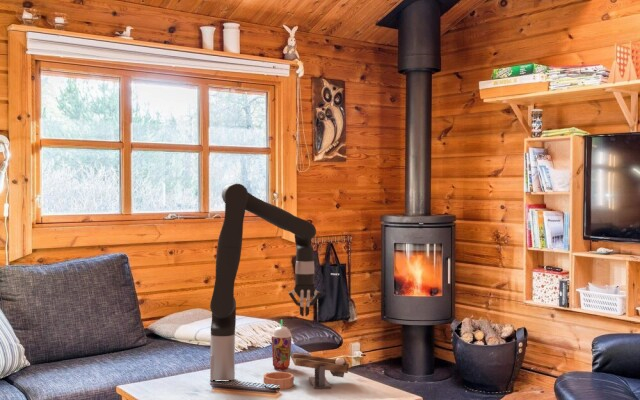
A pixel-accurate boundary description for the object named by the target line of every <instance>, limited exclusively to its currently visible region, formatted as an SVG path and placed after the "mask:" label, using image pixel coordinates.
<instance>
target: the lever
mask: <svg viewBox="0 0 640 400" xmlns="http://www.w3.org/2000/svg"><path fill="white" fill-rule="evenodd" d="M290 359H291V361H292V363H293V364H294V366H297V367H305V368H309V369H310V368H312V369H314V370H315V369H319V366H325V371H329V372H330V373H331V376H332V377H338V378H344V376H345V374H349V373H348V372H349V368H350V363H349V362H348V361H347V359H346V358H343V359H344V361H345V364H344V365H339V364H336V363H335V361H336V359H337V358H336V359H334V358H329V357H323V356H322V357H321V356H315V355H308V354H302V353H297V352H296V353H295V352H290Z"/></svg>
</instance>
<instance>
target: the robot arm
mask: <svg viewBox="0 0 640 400" xmlns="http://www.w3.org/2000/svg"><path fill="white" fill-rule="evenodd" d="M221 198H222V200H223V202H224V203H225V204H224V207H225V208H224V217H223V218H224V219H223V223H222V226H221V230H220V233H219V235H218V240H217V245H216V256H215V276H214V277H215V281H214V286H213V292H212V295H211V300H210V303H209V307H210V308H209V309H210V312H211V323H210V324H211V325H210V358H209V359H210V366H209V367H210V376H209V377H210V378H209V380H210V382H214V381H213V380H231V381H233V380H235V375H236V372H235V371H236V370H235V367H236V365H235V364H236V363H235V361H236V359H235V358H236V356H235V355H236V352H235V350H236V321H237V318H236V316H237V302H236V298H235V296H234V295H235V281H236V277H237V273H238V271H239V270H238V269H239V266H240V260H241V257H242V248H243V232H244V231H243V230H244V219H245V213H246V212H248V213H251V214H253V215H255V216H257V217H259V218H260V219H262V220H264V221H266V222H267V223H270V224H271V225H273V226H276V227H277V228H279V229H281V230H284V231H287V232H289V233H291V234H294V243H295V249H296V250H295V251H296V253H295V255H296V256H295V260H296V261H295V267H294V271H295V272H294V273H295V278H294V279H295V280H294V282H295V283H294V287H293V290H291V291H289V292H288V295H289V296H290V298H291V300H292V301H293V302H294V305H296V306H297V307H299V315H300V316H301V317H304V316H305V317H308V316H309V315H310V307H311V306H314V305H315V304H316V302H317V300H318V299H319V298H320V296H321V295H322V293H321V292H320V291H318V290H317V289H316V286H315V258H314V257H315V250H314V249H315V248H314V247H313V245H312V239H314V238H315V236H316V235H317V229H316V226H315V225H314V224H313V223H312V222H310V221H308V220H305V219H303V218H301V217H298V216H295V215H294V214H292V213H291V212H289V211H288V210H285V209H283V208H280V206H276V205H275V204H271V203H269V202H267V201H264V200H262V199H260V198H258V197H256V196H254V195H253V194H252V193H250V192H249V191H248V189H247V188H246V187H245V185H243V184H242V183H238V182H236V183H235V182H233V183H232V182H231V183H229V184H227V185H225V186H224V187H223V189H222V191H221ZM313 294H314V295H313ZM296 295H297V296H298V297H299V299H298V300H299V301H298V300H297V299H296V297H295V296H296ZM312 296H313V298H312V299H311V297H312ZM304 299H305V307H304Z"/></svg>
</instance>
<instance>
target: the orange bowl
mask: <svg viewBox="0 0 640 400" xmlns="http://www.w3.org/2000/svg"><path fill="white" fill-rule="evenodd" d="M294 379H295V376H294V374H293V373H290V372H285V371H272V372H268V373H264V374H263V381H262V382H263V383H265V384H274V385H280V389H279V390H284V389H289V388H292V387H293V386H294V384H295V383H294ZM263 383H262V384H263Z"/></svg>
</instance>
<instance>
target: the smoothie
mask: <svg viewBox="0 0 640 400" xmlns="http://www.w3.org/2000/svg"><path fill="white" fill-rule="evenodd" d="M270 337H271V352H272V367H274V368H273V369H274V370H276V371H285V370H288V369H289V367H290V363H291V356H290V353H292V352H291V350H292V349H291V348H292V333H291V331H290V329H289V328H288V327H287V326H283V319H280V325H279V326H277V327H276V328H274V330H273V331H272V333H271V335H270Z"/></svg>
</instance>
